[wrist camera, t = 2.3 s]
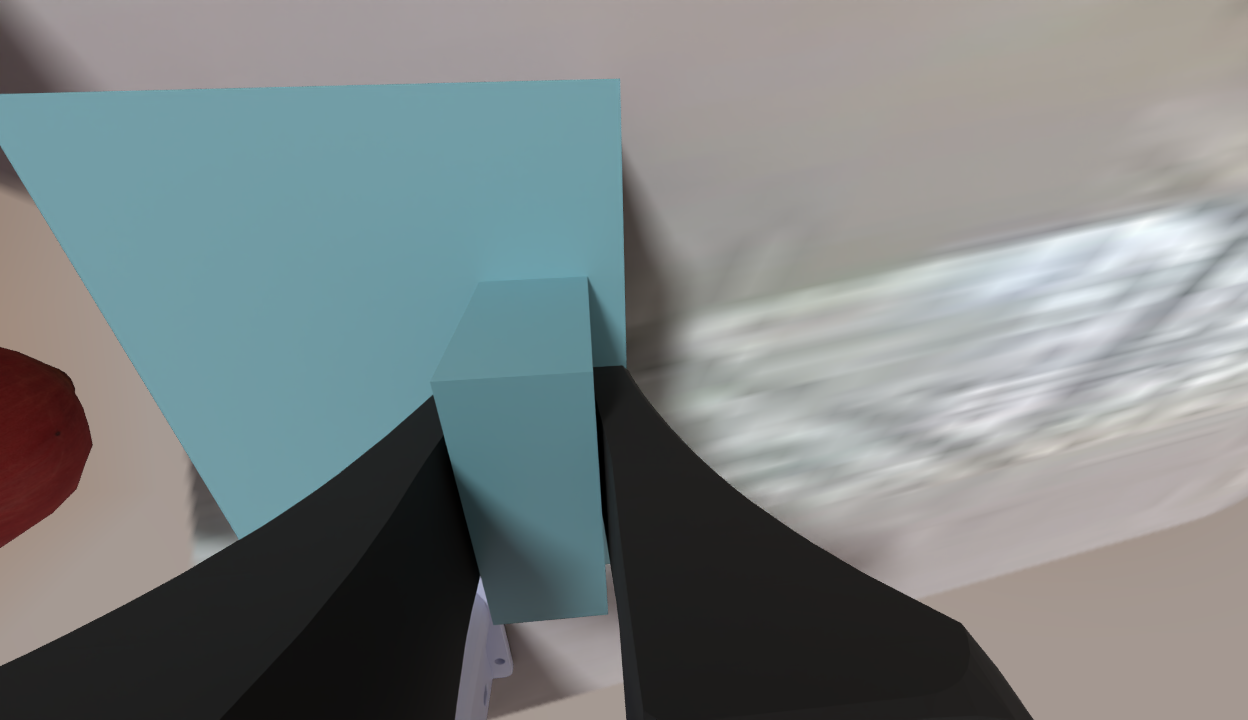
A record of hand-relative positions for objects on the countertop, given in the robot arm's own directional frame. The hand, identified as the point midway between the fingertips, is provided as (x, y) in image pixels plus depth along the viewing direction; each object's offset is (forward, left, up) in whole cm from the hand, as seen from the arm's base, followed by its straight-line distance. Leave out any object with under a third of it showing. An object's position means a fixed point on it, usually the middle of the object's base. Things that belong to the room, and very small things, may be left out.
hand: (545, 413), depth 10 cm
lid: (0, +3, -2) cm, 3 cm away
